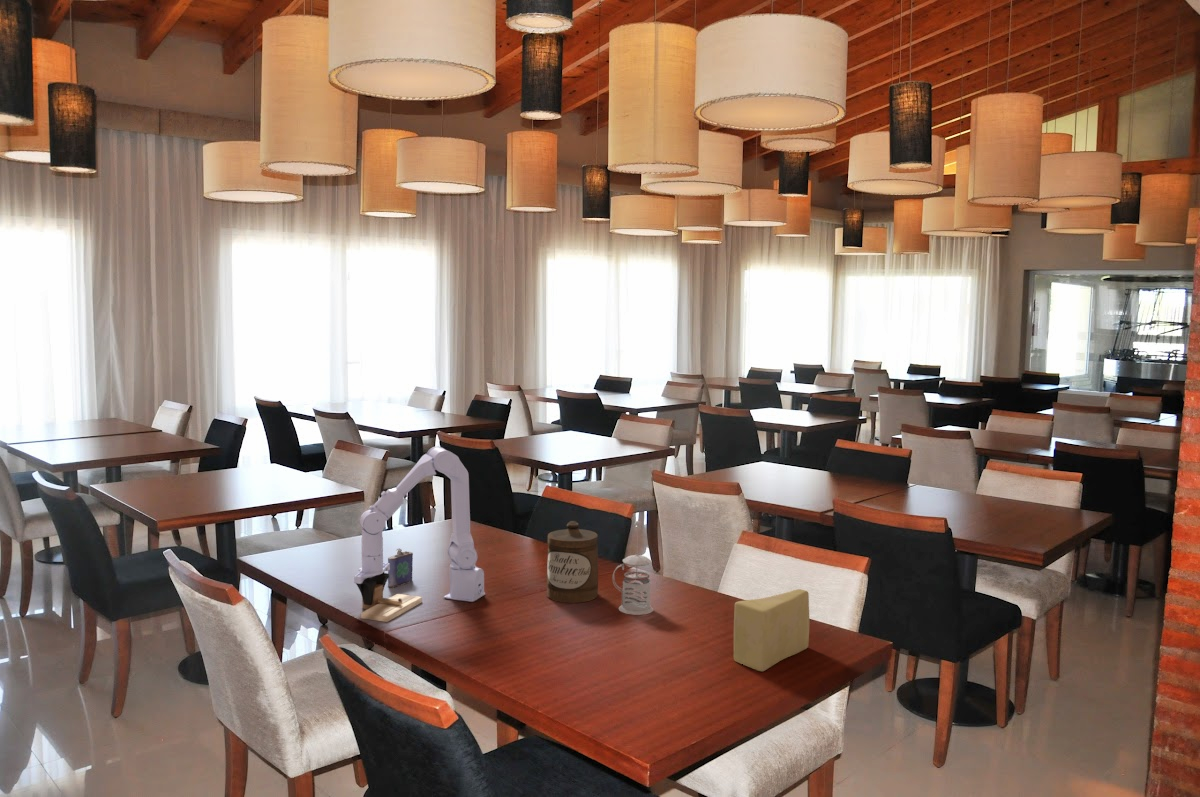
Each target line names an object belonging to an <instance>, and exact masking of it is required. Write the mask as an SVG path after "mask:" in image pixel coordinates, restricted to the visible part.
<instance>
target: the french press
mask: <svg viewBox="0 0 1200 797" xmlns="http://www.w3.org/2000/svg"><path fill="white" fill-rule="evenodd" d="M633 525H634V526H636V530H637V531H636V554H633V555H628V556H626V557H625V558H623V559H622V563H621V564H619V565H617V566H616V567H615V569H614V571H613V572H612V578H613V579H612V583H613V586H614V587H615V589H617V590H618V591H619V592H621V605H620V606H619V607H618V610H619V611H620V613H624V614H627V615H634V616H635V615H636V616H639V615H640V616H641V615H647V614H651V613H652V612H654V608H653V607H652V606H651V579H649V578H650V574H649V573H647V572H643V571H638V567H646V566H649V565H651V564H652V560H651V559H650V558H649V557H647V556H645V555H642V554H640V555H639V554H638V550H639V549H638V548H639V547H638V546H639V545H638V544H639V543H638V542H639V527H640V526H642V523H641V521H639V520H636V521H635V522H634V524H633ZM625 565H628V566H632V567H633V566H634V567H636V569H635V570H636V571H628V572H625V573H624V574H623V577H624V578H623V580H622V588H621V587H619V585H618V584H617V583H616V580H615V579H616V577H615V574H616V571H617V570H618V569H619V568H620V567H621V568H622V571H624V570H625ZM632 581H635V582H632ZM636 581H638V582H636ZM630 582H631V583H630ZM639 582H640V583H639ZM641 583H642V584H641ZM642 593H643V594H642Z"/></svg>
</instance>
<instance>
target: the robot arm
mask: <svg viewBox="0 0 1200 797" xmlns="http://www.w3.org/2000/svg"><path fill="white" fill-rule="evenodd" d="M436 471H437V472H439V473H442V474H444V475H445V477H447V478H449V479H450V498H451V499H450V500H451V524H452V525H451V527H452V529H451V530H452V533H451V535H450V538H449V540H450V543H449V545H448V547H447V555H448V557H449V559H451V561H450V563H449V593H448V594H446V595H444V596H443V598H444V599H448V600H455V601H464V602H469V603H470V602H471V603H473V602H475V601H478V600H479V599H480V598H481V597H483V596H485V595H486V592H485V571H484V570H483V569H484V568H483V569H482V568H480V567H478V566H476V563H477V561H478V553H477V550H476V549H475V548H476V547H475V543H474V539H473V536H472V534H471V513H470V512H471V509H470V478H469V476H470V475H469V472H468V470H467V468H466V467H465V466H464V464H463V463H462V461H461V460H460V458H459V456H458V455H456V454H455V453H453V452H451V451H450V450H447V449H445V448H444V447H442V446H440V445H438V446H433V447H431V448H430V449H428V451H427V452H426V453H425V454H423V455H422V456H421V457H420V459H419V460H418V461H417V463H415V465H414V466H413V467H412V468H411V469H410V471H408V473H407V474H406V475H405V476H404V477H403V478H402V480H401V481H400V482H399V484H397V486H396V487H395V488H388V489H387V490H386V491H384V490H383V491H381V493H380V495H381V497H379V499H378V500H377V501H376V502H374V504H372V505H371V504H370V506H369V507H368V508H369V509H368V510H365V511H364V512H363V513H362V514H360V515H361V516H360V518H359V519H358V522H359V525H360V527H361V567H360V568H358V573H357V574H356V575H354V577H353V578H354V579H353V580H354V581H353V583H354V584H355V585H356V586H357V587H358V590H359V592H360V594H361V597H362V598H363V602H364V605H372V602H373V592H374V587H375V585H376V584H380V585H383V591H384V590H385V586H386V584H387V583H388V578H389V574H388V571H389V570H390V563H388V562H384V537H383V530H385V527H386V521H388V520H389V519H390V518H392V516H393V515H394V514H395V513H396V512H397V511H398V509H400V508H401V507H402V506H403V504H404V502H405V501H404V500H405V498H404V497H406V495H407V494H408V493H409V492H410V491H411V490H412V489H413V488H414V487H415V486H416V485H417V484H419V483H420V482H421V481H422V480H423V479H424V478H425V477H428V476H429V477H430V476H434V475H437V472H436ZM386 571H387V572H386ZM362 598H361V599H362Z"/></svg>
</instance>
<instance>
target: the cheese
mask: <svg viewBox="0 0 1200 797" xmlns="http://www.w3.org/2000/svg"><path fill="white" fill-rule="evenodd" d="M809 599H810V596H809V591H808V590H805V589H802V588H801V589H792V590H790V591H787V592H783V593H779V594H776V595H771V596H766V597H763V598H754V599H746V600H739V601H736V602H735V603H734V611H733V614H734V615H733V617H734V618H733V660H734V661H735V662H736V663H737V664H741V665H742V664H743V666H746V667H748V668H750V669H753V670H754V671H758V672H766V670H768V669H769V668H772V667H773V666H775V665H776V664H777V663H779V662H780V661H781V662H782V661H783V660H785V659H787V658H788V657H791V656H794V655H796V654H799V653H800V652H803V651H804V650H805V651H806V649H807V648H809V642H810V640H809V639H810V638H809V637H810V600H809Z"/></svg>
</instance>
